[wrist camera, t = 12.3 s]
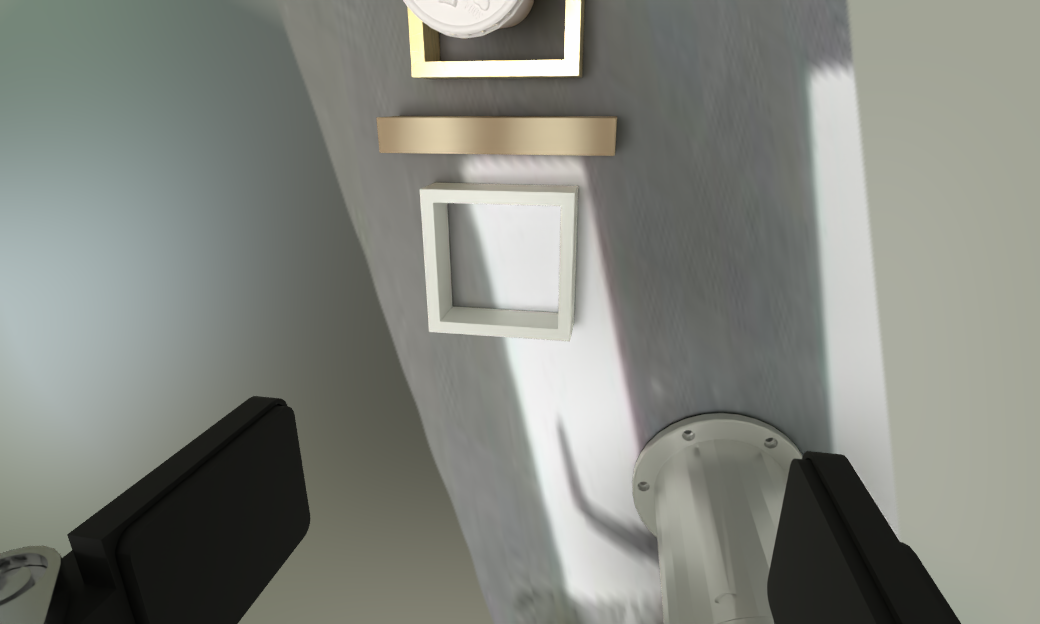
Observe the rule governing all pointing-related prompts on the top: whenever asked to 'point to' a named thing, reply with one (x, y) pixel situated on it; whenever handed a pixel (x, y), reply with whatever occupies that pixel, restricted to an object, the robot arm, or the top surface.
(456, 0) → the smoothie
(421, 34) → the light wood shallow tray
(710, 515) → the robot arm
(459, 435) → the top surface
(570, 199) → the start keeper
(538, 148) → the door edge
